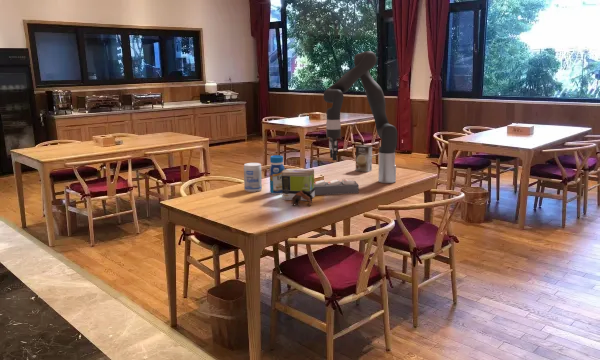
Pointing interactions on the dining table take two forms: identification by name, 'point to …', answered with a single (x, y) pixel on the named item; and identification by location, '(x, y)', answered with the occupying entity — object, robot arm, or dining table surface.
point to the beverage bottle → (276, 174)
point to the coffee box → (363, 158)
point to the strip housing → (337, 189)
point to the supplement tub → (252, 177)
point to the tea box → (297, 182)
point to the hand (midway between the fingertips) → (333, 158)
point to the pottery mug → (302, 194)
